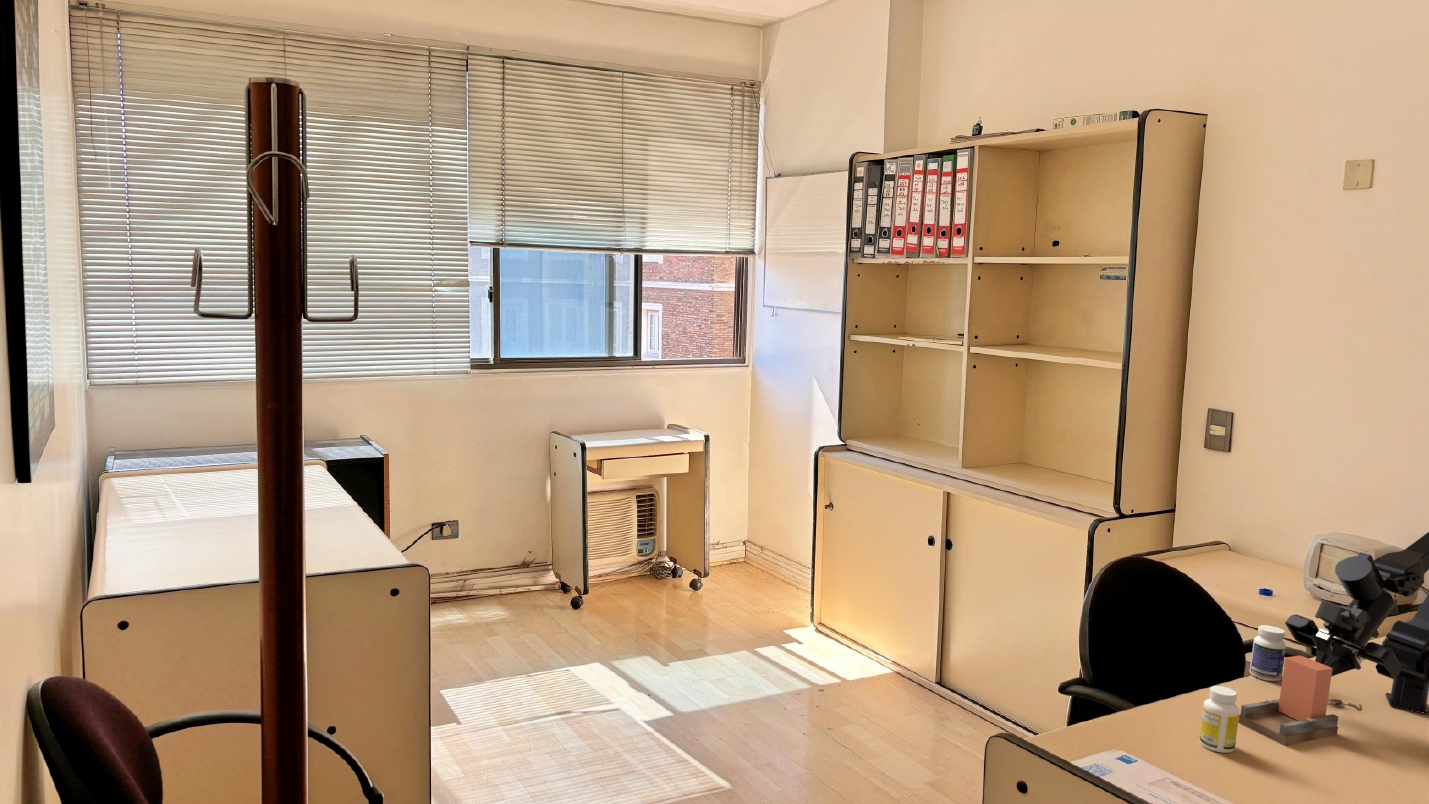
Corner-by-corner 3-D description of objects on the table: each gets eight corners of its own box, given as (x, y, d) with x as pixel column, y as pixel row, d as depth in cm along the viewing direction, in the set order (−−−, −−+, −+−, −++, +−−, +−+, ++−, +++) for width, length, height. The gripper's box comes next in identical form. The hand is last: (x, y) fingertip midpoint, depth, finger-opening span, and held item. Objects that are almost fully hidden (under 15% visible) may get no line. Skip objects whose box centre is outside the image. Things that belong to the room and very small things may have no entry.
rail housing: (1289, 713, 185) (1292, 695, 185) (1336, 734, 177) (1339, 716, 177) (1238, 722, 180) (1240, 703, 179) (1284, 745, 172) (1287, 726, 171)
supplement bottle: (1231, 742, 172) (1239, 687, 170) (1236, 756, 166) (1244, 700, 165) (1196, 736, 173) (1204, 681, 172) (1200, 749, 168) (1208, 693, 167)
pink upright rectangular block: (1293, 708, 183) (1300, 655, 182) (1324, 722, 178) (1332, 668, 176) (1277, 711, 181) (1285, 657, 180) (1309, 725, 176) (1317, 670, 175)
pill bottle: (1285, 684, 199) (1292, 635, 198) (1254, 680, 200) (1261, 631, 199) (1275, 673, 205) (1282, 625, 204) (1245, 669, 206) (1251, 622, 205)
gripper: (1299, 571, 188) (1249, 633, 185) (1401, 604, 171) (1348, 673, 168) (1321, 609, 192) (1273, 670, 189) (1423, 645, 176) (1372, 712, 172)
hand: (1314, 680), depth 180 cm, fingers closed, pressing on pink upright rectangular block
